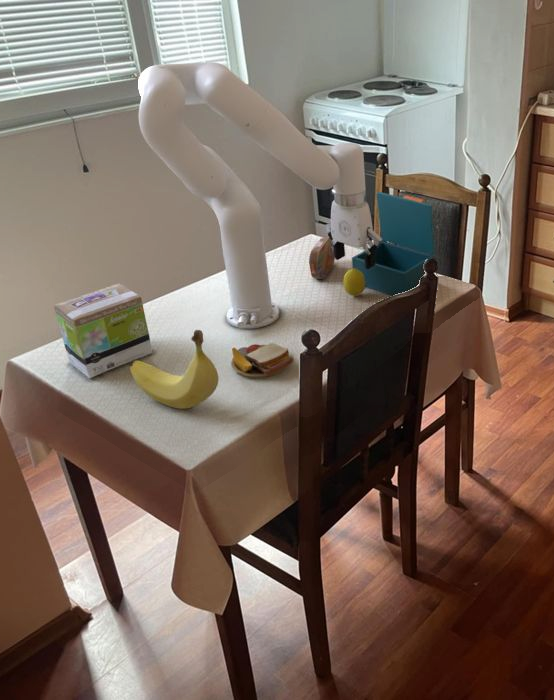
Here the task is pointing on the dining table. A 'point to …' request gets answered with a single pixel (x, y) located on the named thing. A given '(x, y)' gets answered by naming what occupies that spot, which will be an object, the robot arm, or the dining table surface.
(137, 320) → the tea box
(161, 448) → the dining table surface
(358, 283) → the lemon
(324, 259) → the tin
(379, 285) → the box
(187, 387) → the banana
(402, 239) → the lunchbox lid
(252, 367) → the toy sandwich meal
